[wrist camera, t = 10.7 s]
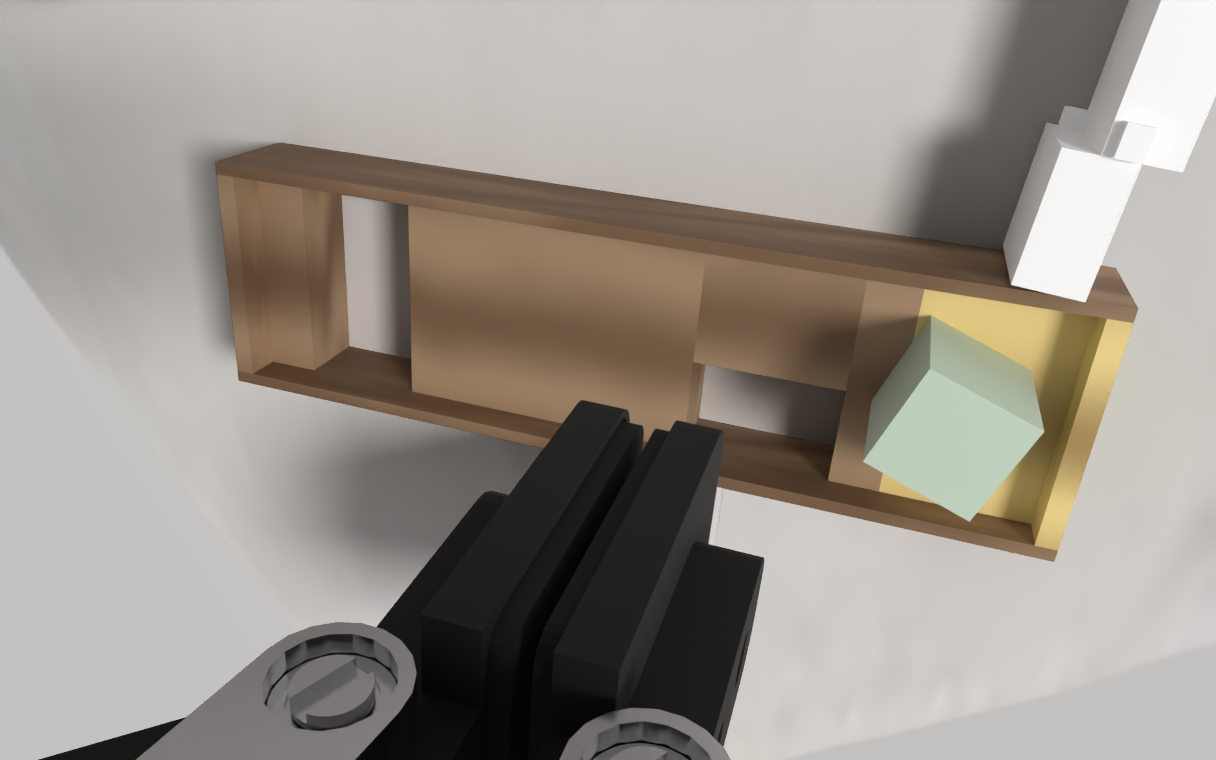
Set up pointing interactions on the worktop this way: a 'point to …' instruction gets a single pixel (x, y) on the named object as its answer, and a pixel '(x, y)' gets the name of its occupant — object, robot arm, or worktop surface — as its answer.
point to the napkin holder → (1113, 144)
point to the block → (952, 419)
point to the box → (655, 324)
